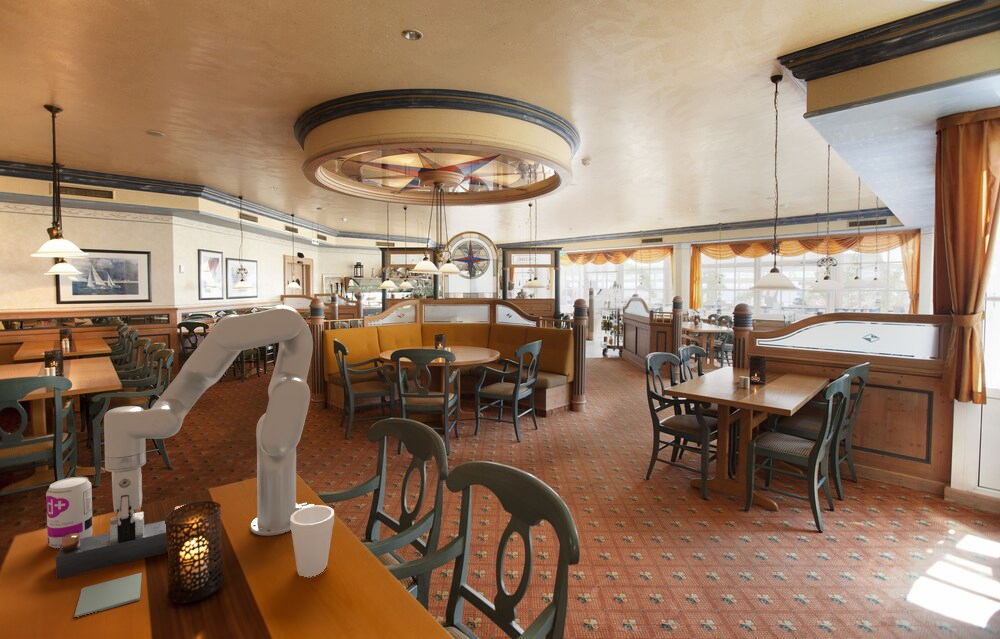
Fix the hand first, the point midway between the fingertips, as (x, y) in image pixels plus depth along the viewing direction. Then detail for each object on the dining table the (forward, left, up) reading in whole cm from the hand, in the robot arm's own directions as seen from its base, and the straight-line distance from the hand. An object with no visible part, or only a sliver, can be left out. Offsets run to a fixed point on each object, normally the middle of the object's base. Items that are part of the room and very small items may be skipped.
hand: (127, 534), depth 111 cm
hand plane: (0, 0, -5) cm, 5 cm away
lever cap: (0, 0, 0) cm, 0 cm away
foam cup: (-35, +29, -5) cm, 46 cm away
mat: (+2, +16, -5) cm, 17 cm away
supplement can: (+12, -15, -5) cm, 20 cm away
